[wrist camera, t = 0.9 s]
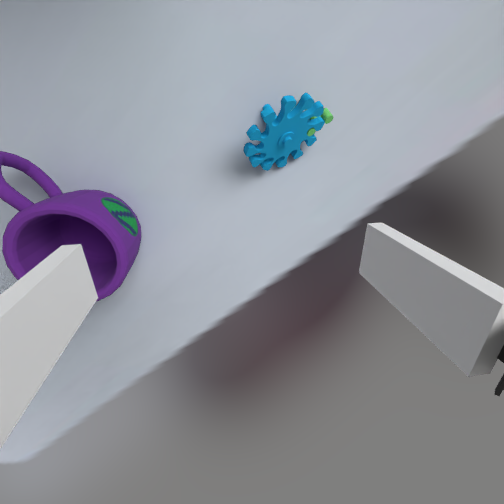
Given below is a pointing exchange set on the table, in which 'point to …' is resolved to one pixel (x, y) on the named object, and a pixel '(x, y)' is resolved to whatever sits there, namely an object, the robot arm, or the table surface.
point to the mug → (69, 228)
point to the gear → (286, 131)
